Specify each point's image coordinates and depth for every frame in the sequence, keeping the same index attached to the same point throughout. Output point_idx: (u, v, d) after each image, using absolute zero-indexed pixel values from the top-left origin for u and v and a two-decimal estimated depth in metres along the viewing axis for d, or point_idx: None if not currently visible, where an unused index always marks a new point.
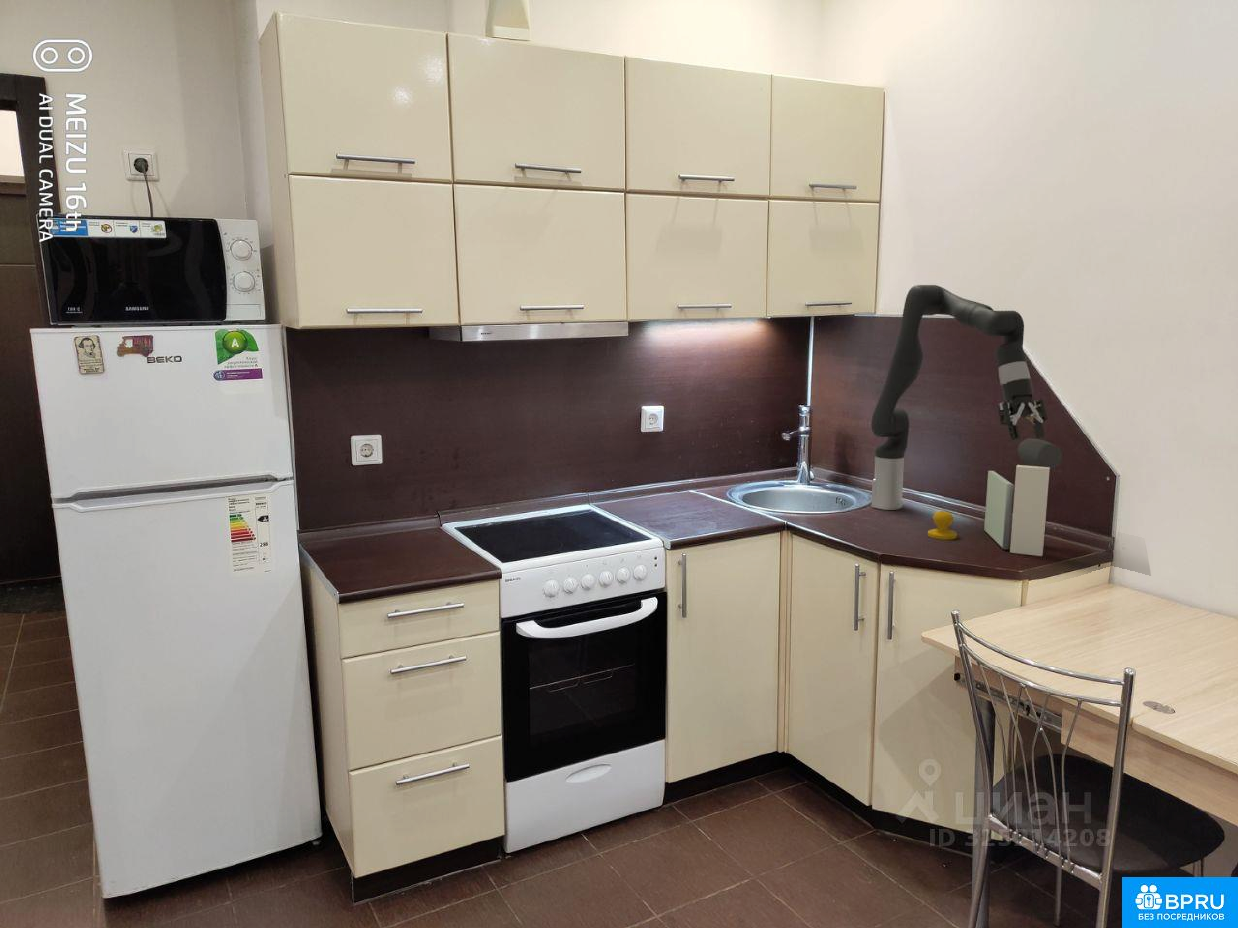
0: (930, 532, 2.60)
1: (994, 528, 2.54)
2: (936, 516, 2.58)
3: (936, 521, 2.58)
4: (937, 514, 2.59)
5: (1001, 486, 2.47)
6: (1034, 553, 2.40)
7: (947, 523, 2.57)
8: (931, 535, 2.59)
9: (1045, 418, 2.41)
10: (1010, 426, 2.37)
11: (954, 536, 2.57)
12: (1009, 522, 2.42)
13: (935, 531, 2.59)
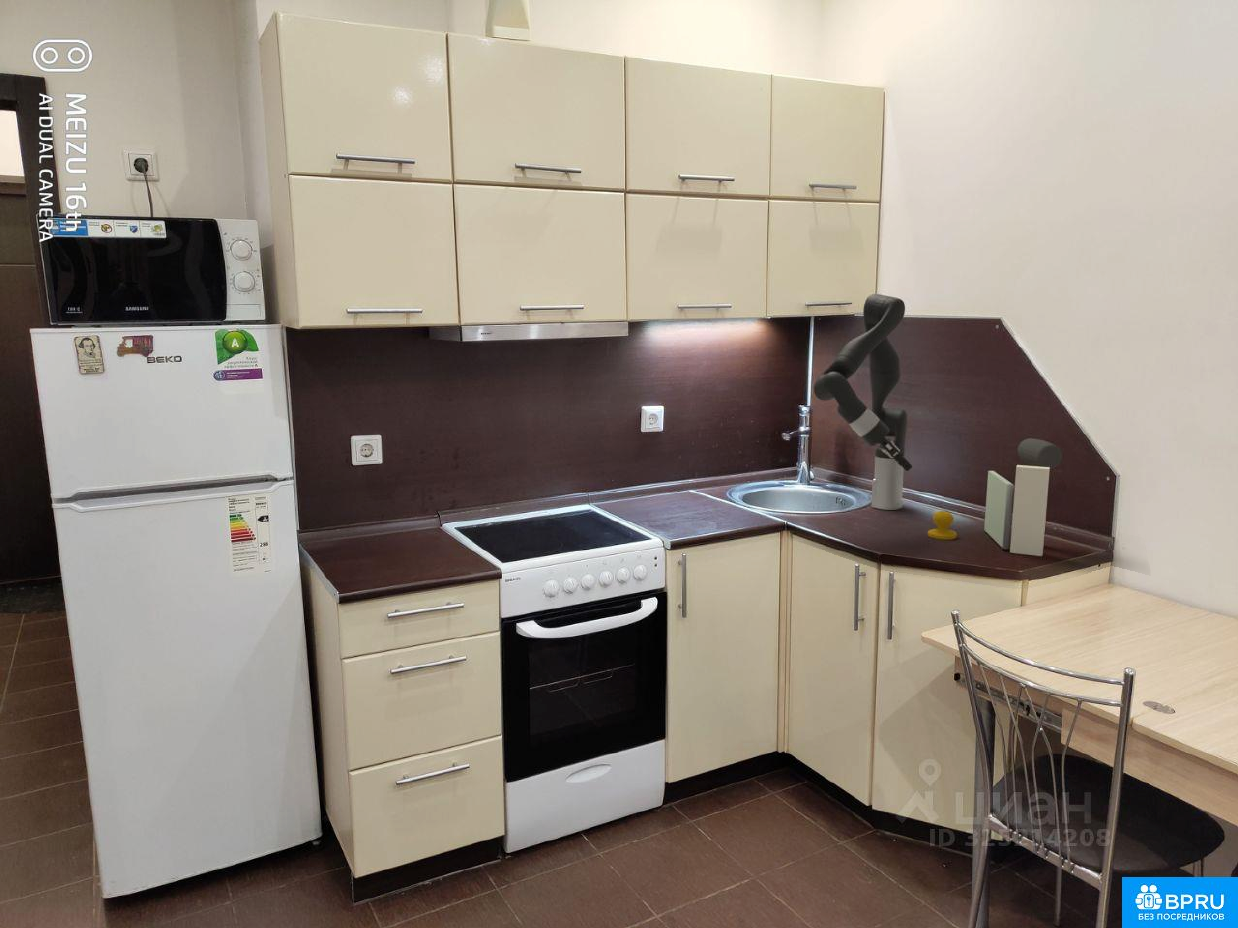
0: (930, 532, 2.60)
1: (994, 528, 2.54)
2: (936, 516, 2.58)
3: (936, 521, 2.58)
4: (937, 514, 2.59)
5: (1001, 486, 2.47)
6: (1034, 553, 2.40)
7: (947, 523, 2.57)
8: (931, 535, 2.59)
9: None
10: None
11: (954, 536, 2.57)
12: (1009, 522, 2.42)
13: (935, 531, 2.59)
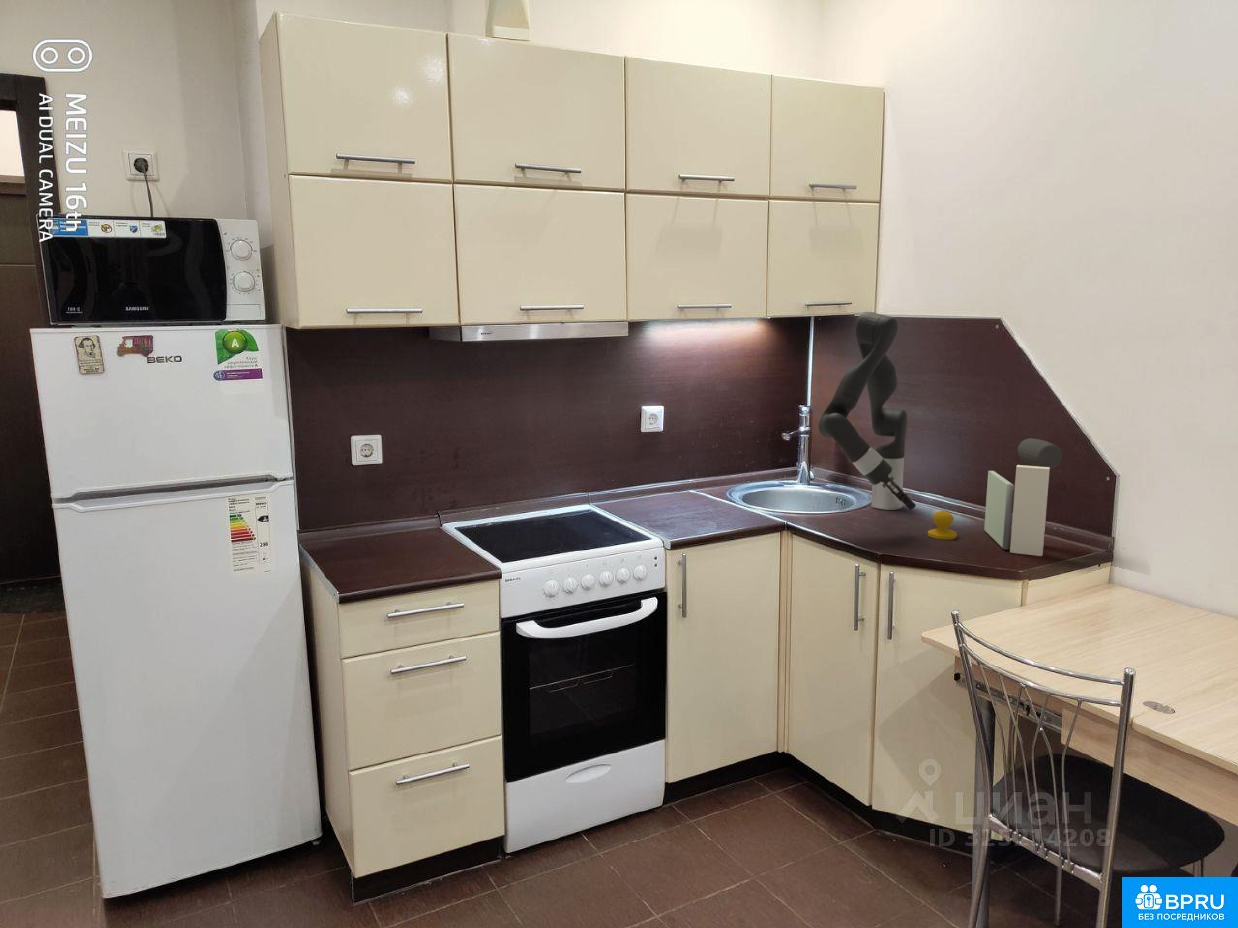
0: (930, 532, 2.60)
1: (994, 528, 2.54)
2: (936, 516, 2.58)
3: (936, 521, 2.58)
4: (937, 514, 2.59)
5: (1001, 486, 2.47)
6: (1034, 553, 2.40)
7: (947, 523, 2.57)
8: (931, 535, 2.59)
9: None
10: None
11: (954, 536, 2.57)
12: (1009, 522, 2.42)
13: (935, 531, 2.59)
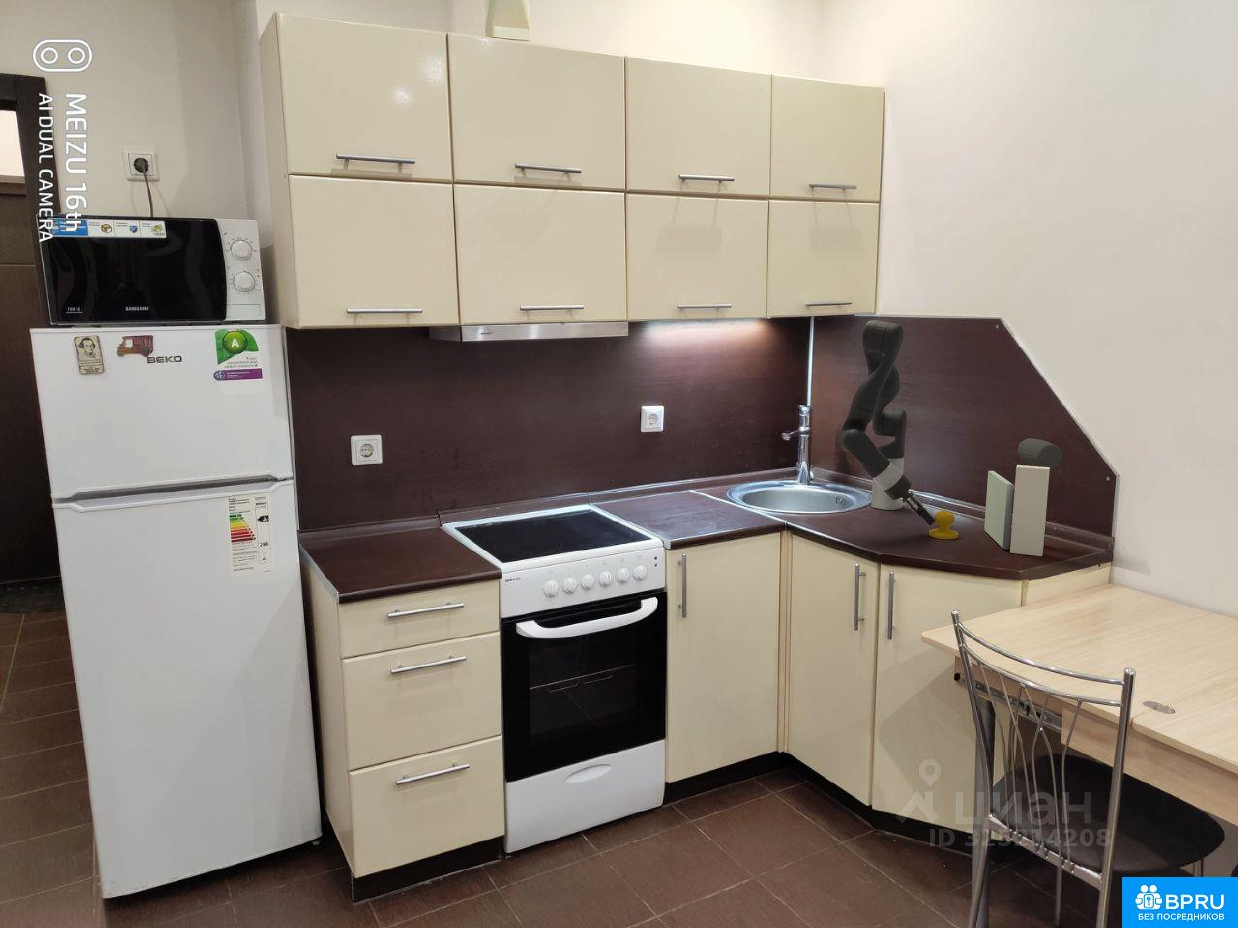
0: (931, 532, 2.60)
1: (994, 528, 2.54)
2: (937, 516, 2.58)
3: (937, 521, 2.58)
4: (938, 514, 2.58)
5: (1001, 486, 2.47)
6: (1034, 553, 2.40)
7: (948, 523, 2.57)
8: (932, 535, 2.59)
9: None
10: None
11: (955, 536, 2.57)
12: (1009, 522, 2.42)
13: (936, 531, 2.59)
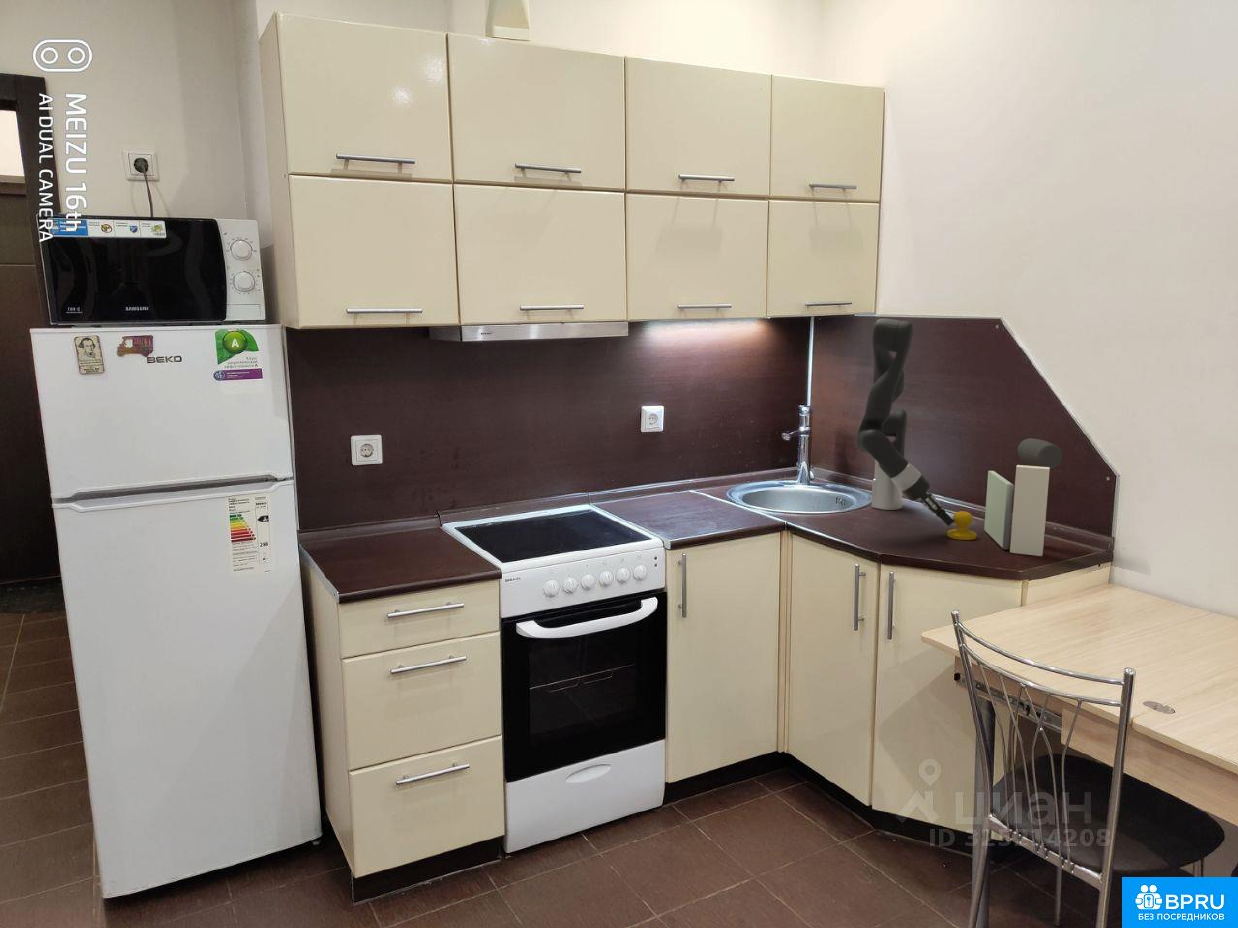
0: (949, 532, 2.59)
1: (994, 528, 2.54)
2: (955, 516, 2.57)
3: (956, 521, 2.57)
4: (957, 514, 2.58)
5: (1001, 486, 2.47)
6: (1034, 553, 2.40)
7: (966, 523, 2.56)
8: (950, 535, 2.58)
9: None
10: None
11: (974, 536, 2.56)
12: (1009, 522, 2.42)
13: (954, 531, 2.58)
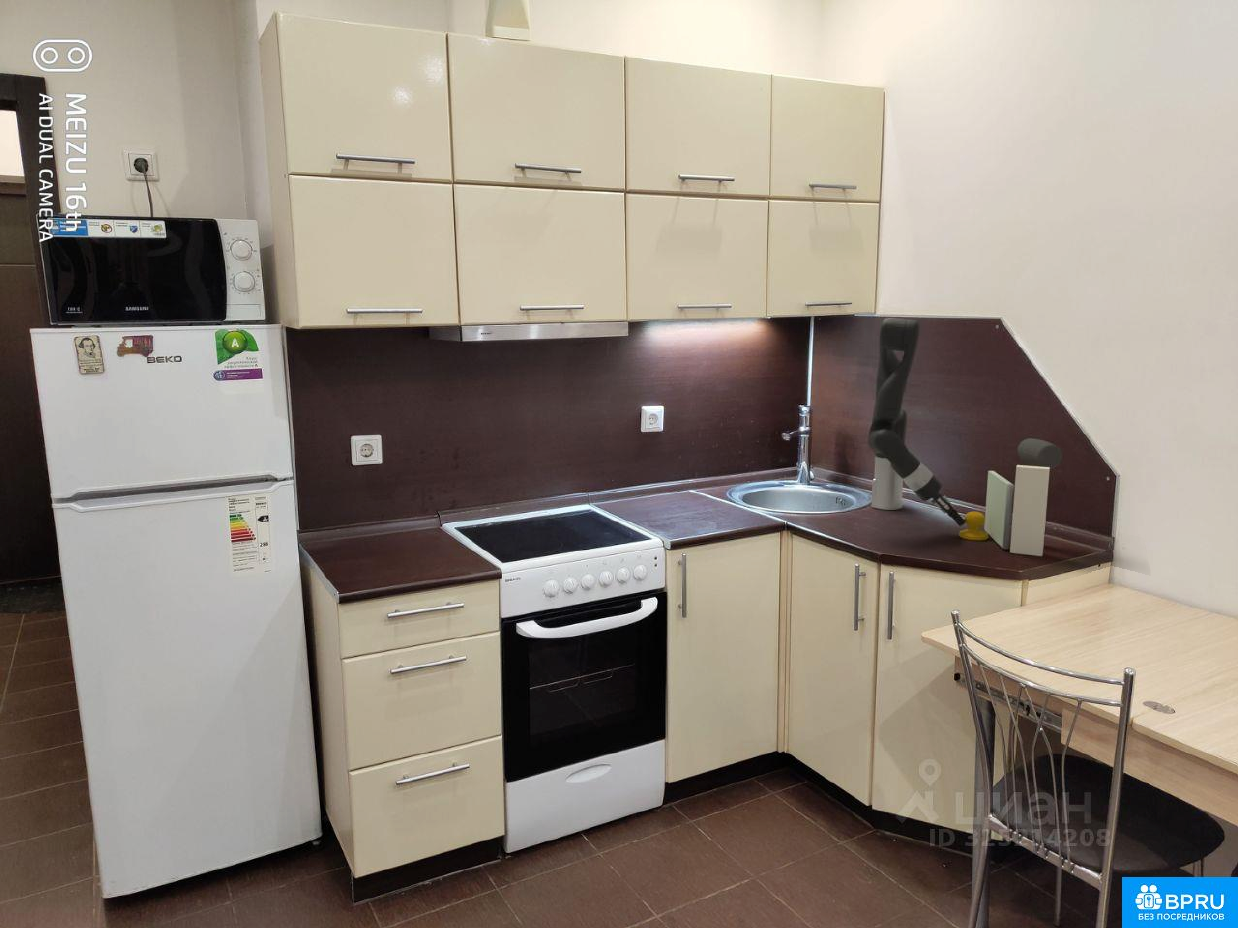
0: (961, 533, 2.59)
1: (994, 528, 2.54)
2: (967, 516, 2.57)
3: (967, 522, 2.57)
4: (969, 515, 2.57)
5: (1001, 486, 2.47)
6: (1034, 553, 2.40)
7: (978, 524, 2.56)
8: (962, 536, 2.57)
9: None
10: None
11: (986, 537, 2.56)
12: (1009, 522, 2.42)
13: (966, 532, 2.58)
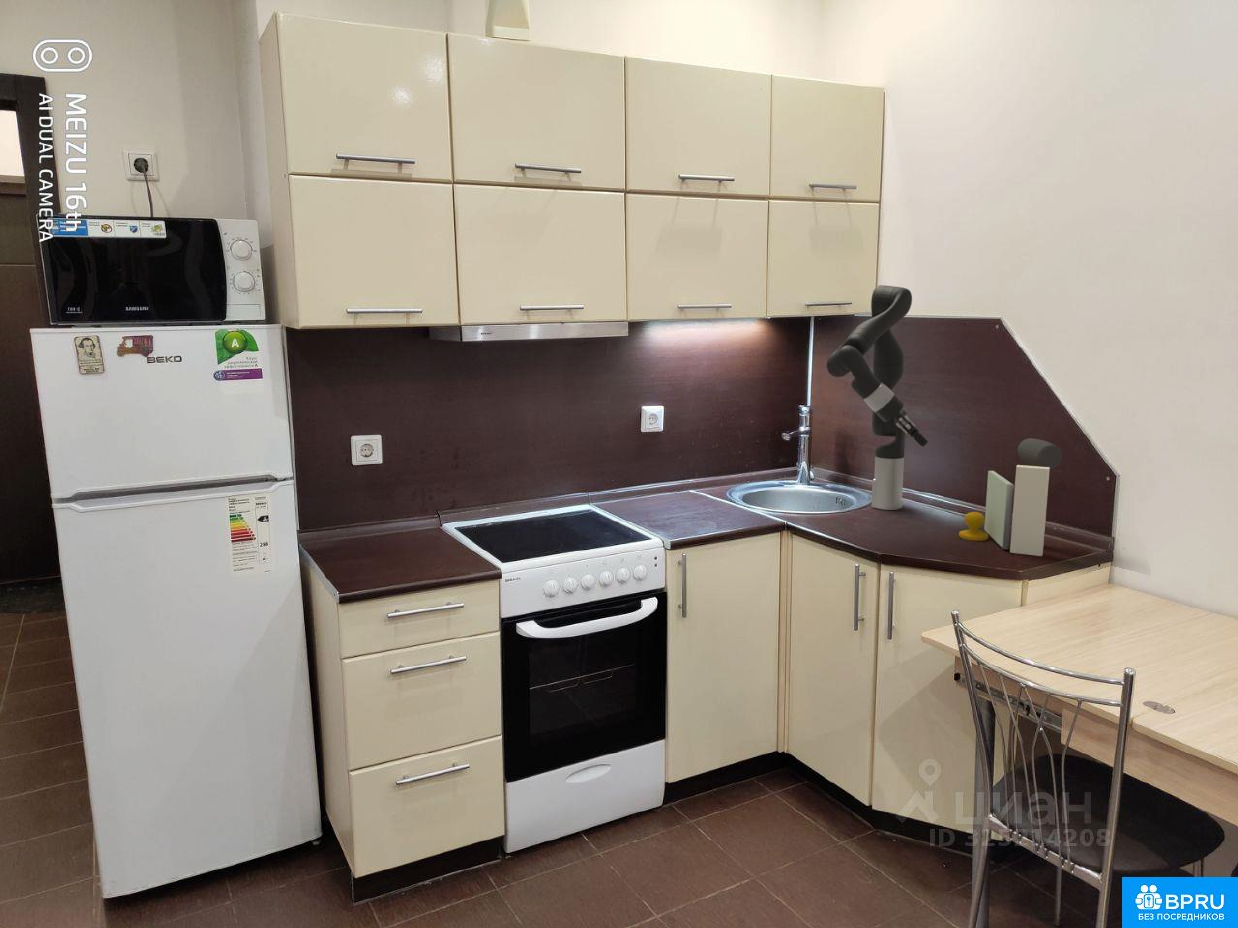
0: (961, 533, 2.59)
1: (994, 528, 2.54)
2: (967, 517, 2.57)
3: (967, 522, 2.57)
4: (968, 515, 2.57)
5: (1001, 486, 2.47)
6: (1034, 553, 2.40)
7: (978, 524, 2.56)
8: (962, 536, 2.58)
9: None
10: None
11: (986, 537, 2.56)
12: (1009, 522, 2.42)
13: (966, 532, 2.58)
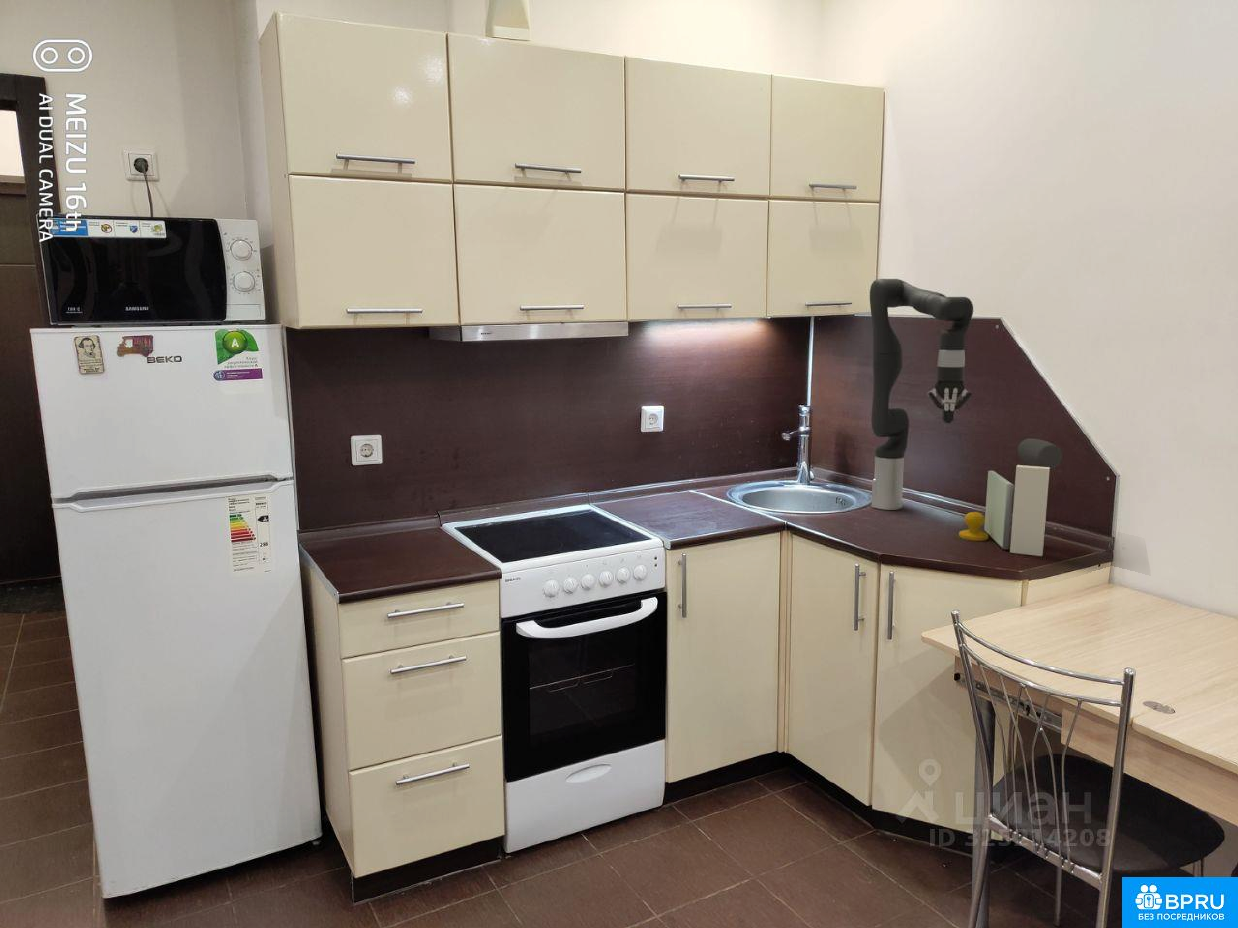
0: (961, 533, 2.59)
1: (994, 528, 2.54)
2: (967, 517, 2.57)
3: (967, 522, 2.57)
4: (968, 515, 2.57)
5: (1001, 486, 2.47)
6: (1034, 553, 2.40)
7: (978, 524, 2.56)
8: (962, 536, 2.58)
9: (957, 407, 2.63)
10: (943, 410, 2.65)
11: (986, 537, 2.56)
12: (1009, 522, 2.42)
13: (966, 532, 2.58)
